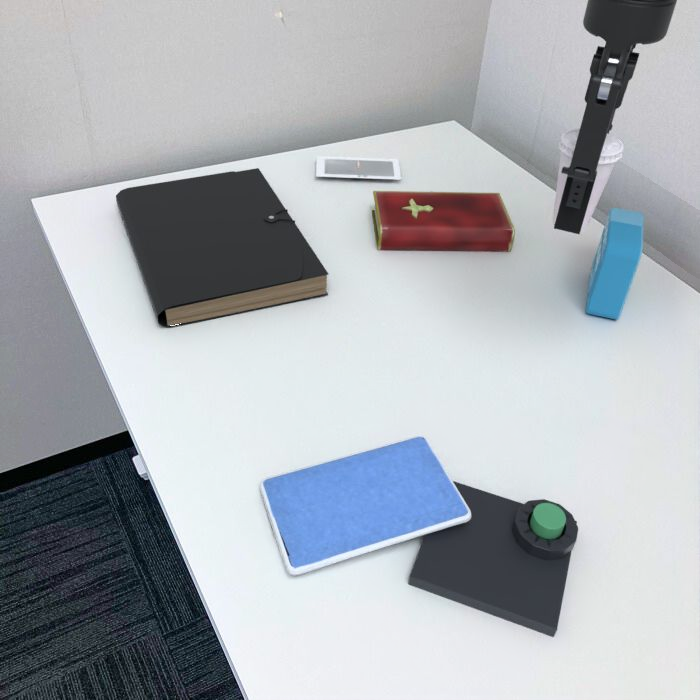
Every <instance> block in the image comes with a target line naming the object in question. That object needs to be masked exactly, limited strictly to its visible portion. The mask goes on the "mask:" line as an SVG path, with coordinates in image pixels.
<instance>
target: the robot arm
mask: <svg viewBox="0 0 700 700" xmlns="http://www.w3.org/2000/svg"><path fill="white" fill-rule="evenodd" d="M677 1H678V0H587V4H586V8H585V12H584V16H583V20H582V25H583V27H584V29H585V30H586V31H587V32H588V33H589V34H590V35H592V36H594V37H599V38H601V39H603V40H604V41H605V45H604V46H601V45H598V46H597V47H596V50H595V53H594V54H593V56H592V60H591V63H590V67H589V73H590V77H589V81H588V84H587V88H586V91H585V94H584V102H585V103H586V105H585V108H584V113H583V116H582V119H581V123H580V128H579V129H580V131H579V134H578V138H577V142H576V146H575V149H574V153H573V157H572V161H571V164H570V167H563V168H562V172H561V173H563V174H567V175H568V176H567V180H566V183H565V187H564V191H563V195H562V199H561V202H560V206H559V210H558V214H557V218H556V222H555V225H554V224H553V225H554V226H553V229H555V230H559V231H563V232H566V231H567V232H566V233H571V234H575V235H580V233H581V232H580V231H581V227H582V224H583V221H584V217H585V214H586V210H587V207H588V203H589V200H590V196H591V193H592V189H593V186H594V183H595V179H596V176H597V171H596V170H597V166H598V163H599V159H600V156H601V153H602V149H603V146H604V143H605V139H606V136H607V133H608V134H610V132H611V130H613V121H614V119H615V118H614V117H615V114H616V111H617V109H619V108H620V107H621V106H622V103H623V100H624V97H625V95H626V94H625V93H626V92H627V88H628V86H629V83H630V80H632V78H633V77H634V73H635V70H636V66H637V64H638V60H639V58H640V57H639V56H640V53H639V52H636V51H634V49H636V47H637V45H638V44H641V45H643V46H644V45H652V44H655V43H658V42H660V41H662V40H663V39H664V38H665V37H666V36H667V34H668V31H669V27H670V24H671V21H672V18H673V14H674V11H675V8H676V5H677Z"/></svg>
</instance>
